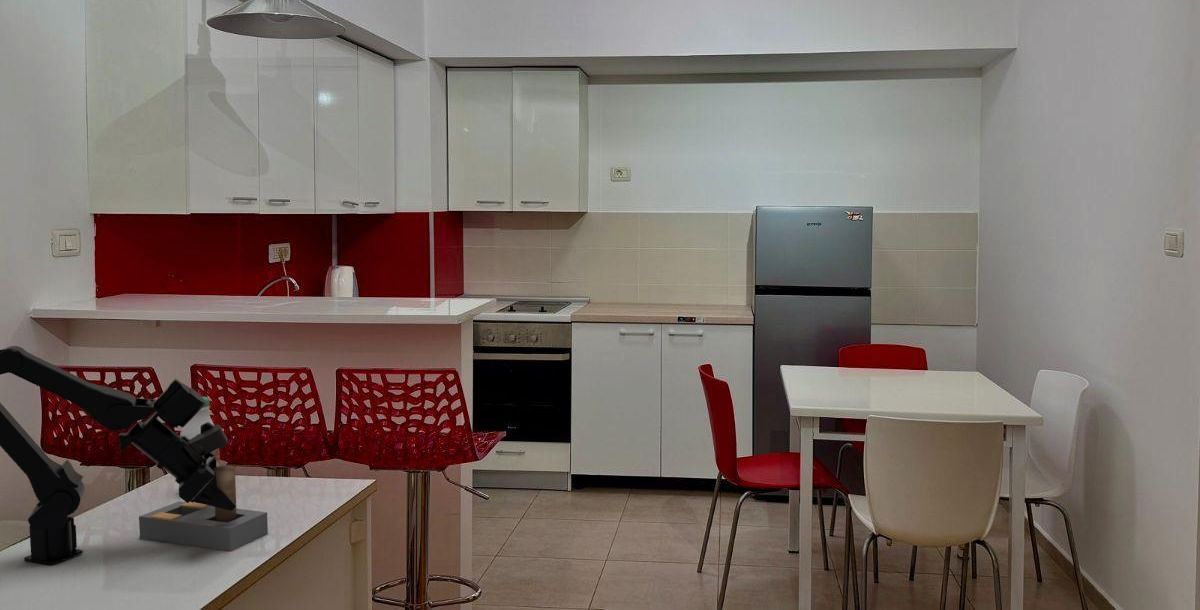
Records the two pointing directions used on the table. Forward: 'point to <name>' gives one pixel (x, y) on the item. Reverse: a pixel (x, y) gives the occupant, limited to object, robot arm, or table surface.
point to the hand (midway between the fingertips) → (233, 502)
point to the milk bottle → (195, 427)
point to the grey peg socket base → (202, 526)
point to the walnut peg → (229, 487)
